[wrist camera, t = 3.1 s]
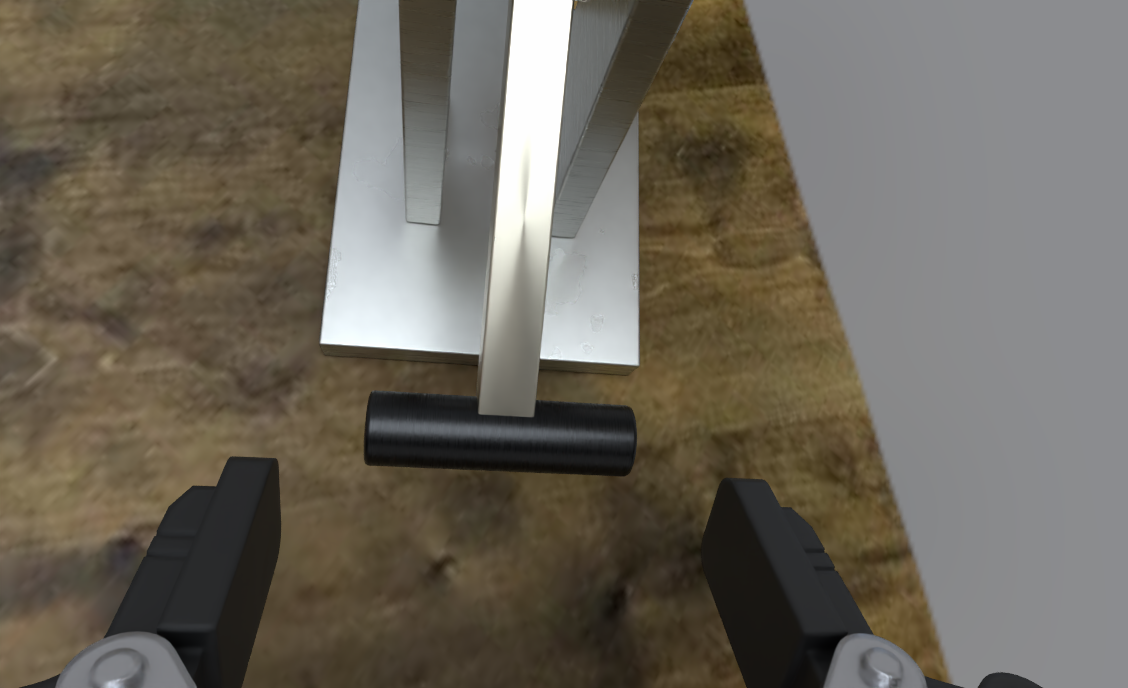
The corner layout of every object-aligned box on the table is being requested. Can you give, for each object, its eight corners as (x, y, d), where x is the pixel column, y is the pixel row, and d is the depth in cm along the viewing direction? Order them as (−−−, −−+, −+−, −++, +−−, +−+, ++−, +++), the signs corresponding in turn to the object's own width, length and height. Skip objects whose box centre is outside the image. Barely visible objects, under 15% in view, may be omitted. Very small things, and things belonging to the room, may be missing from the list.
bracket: (629, 375, 23) (866, 176, 11) (323, 355, 21) (203, 96, 9) (628, 41, 26) (810, -398, 14) (363, 2, 25) (313, -529, 13)
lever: (611, 456, 17) (639, 495, 14) (370, 445, 16) (359, 484, 13) (678, -134, 15) (722, -199, 13) (410, -185, 14) (403, -266, 12)
